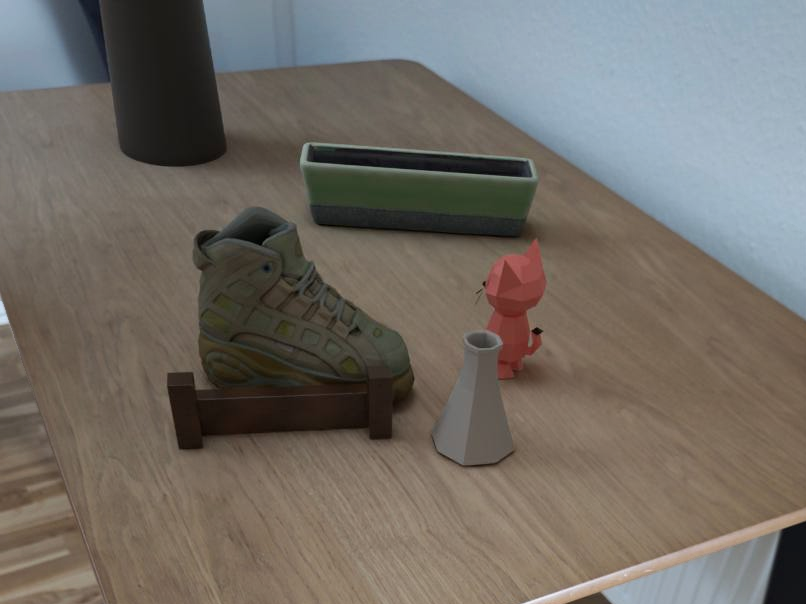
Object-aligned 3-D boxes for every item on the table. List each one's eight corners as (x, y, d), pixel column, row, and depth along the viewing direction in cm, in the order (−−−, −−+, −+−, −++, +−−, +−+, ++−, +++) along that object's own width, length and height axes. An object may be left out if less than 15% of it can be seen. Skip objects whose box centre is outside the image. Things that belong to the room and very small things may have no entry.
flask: (484, 412, 82) (495, 310, 75) (529, 454, 78) (545, 351, 71) (416, 431, 79) (421, 327, 72) (459, 476, 75) (468, 371, 68)
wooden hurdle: (178, 449, 74) (166, 385, 70) (179, 425, 77) (167, 363, 72) (391, 438, 78) (393, 377, 74) (386, 416, 80) (387, 356, 76)
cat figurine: (494, 343, 91) (507, 224, 82) (553, 365, 89) (572, 246, 80) (458, 371, 87) (467, 249, 78) (519, 396, 85) (536, 273, 76)
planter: (526, 218, 113) (533, 157, 108) (531, 242, 108) (539, 180, 103) (306, 203, 110) (303, 140, 105) (302, 228, 105) (298, 163, 100)
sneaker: (376, 442, 77) (380, 267, 67) (183, 387, 81) (160, 213, 71) (424, 393, 85) (435, 228, 75) (247, 344, 89) (235, 182, 79)
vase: (245, 155, 119) (217, -128, 98) (149, 172, 112) (97, -127, 91) (195, 122, 125) (159, -150, 104) (102, 137, 119) (43, -150, 97)
